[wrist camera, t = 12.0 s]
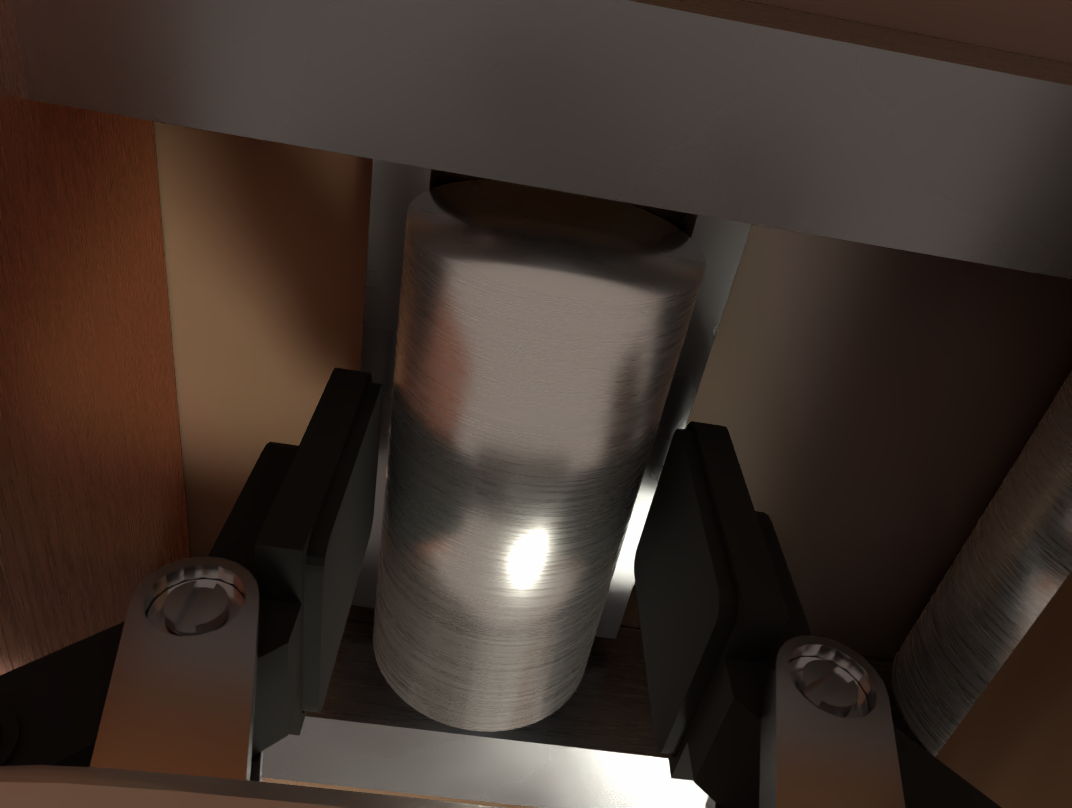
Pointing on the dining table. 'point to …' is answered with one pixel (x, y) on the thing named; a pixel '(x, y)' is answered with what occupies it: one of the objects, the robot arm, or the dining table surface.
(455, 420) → the roller
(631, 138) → the track
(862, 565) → the dining table surface
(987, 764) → the slab
